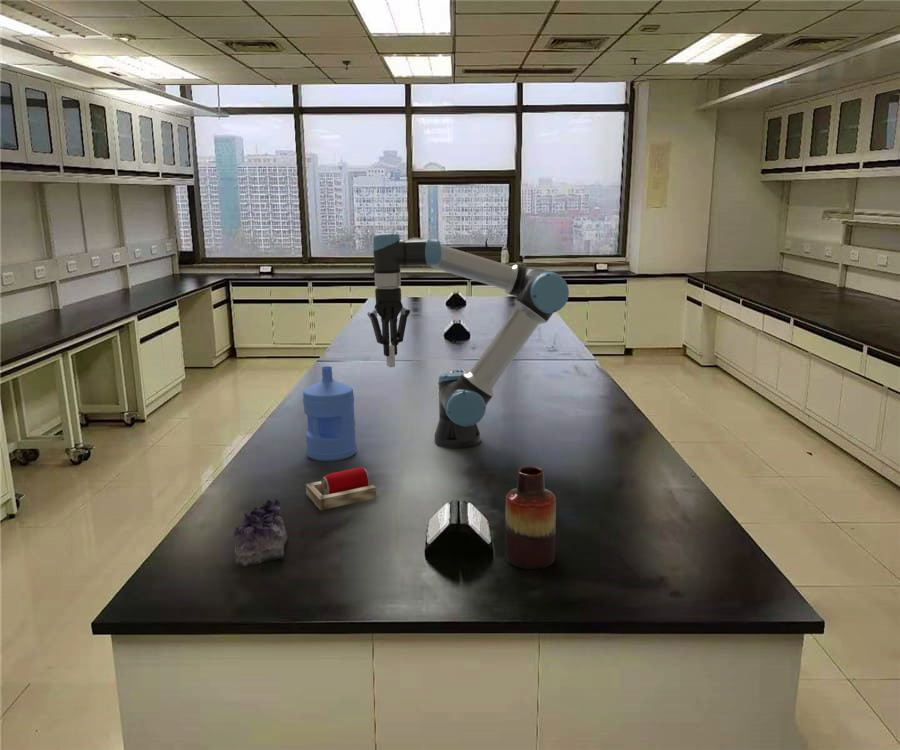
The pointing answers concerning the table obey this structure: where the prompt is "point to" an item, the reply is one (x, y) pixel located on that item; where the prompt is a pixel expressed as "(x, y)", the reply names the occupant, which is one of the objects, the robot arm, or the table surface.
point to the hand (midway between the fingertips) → (390, 366)
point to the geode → (260, 535)
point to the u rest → (338, 495)
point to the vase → (530, 521)
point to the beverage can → (345, 480)
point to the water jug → (329, 419)
